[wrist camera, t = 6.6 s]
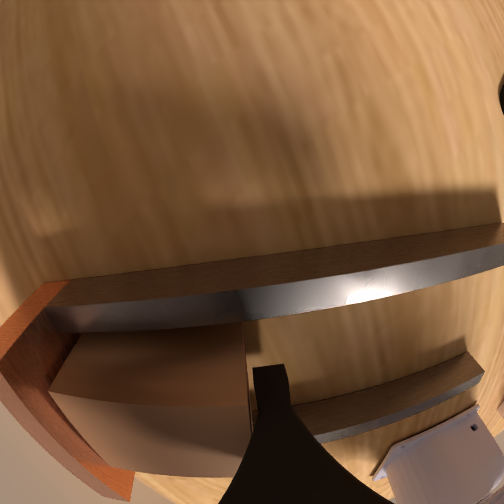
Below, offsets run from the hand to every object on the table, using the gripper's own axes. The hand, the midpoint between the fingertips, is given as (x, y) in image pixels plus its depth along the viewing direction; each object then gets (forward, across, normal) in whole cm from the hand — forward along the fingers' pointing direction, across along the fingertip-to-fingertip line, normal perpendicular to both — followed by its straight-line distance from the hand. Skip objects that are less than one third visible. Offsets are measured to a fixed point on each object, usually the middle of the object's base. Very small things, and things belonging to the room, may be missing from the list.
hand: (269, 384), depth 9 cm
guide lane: (+1, -1, 0) cm, 2 cm away
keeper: (+1, +4, 0) cm, 4 cm away
